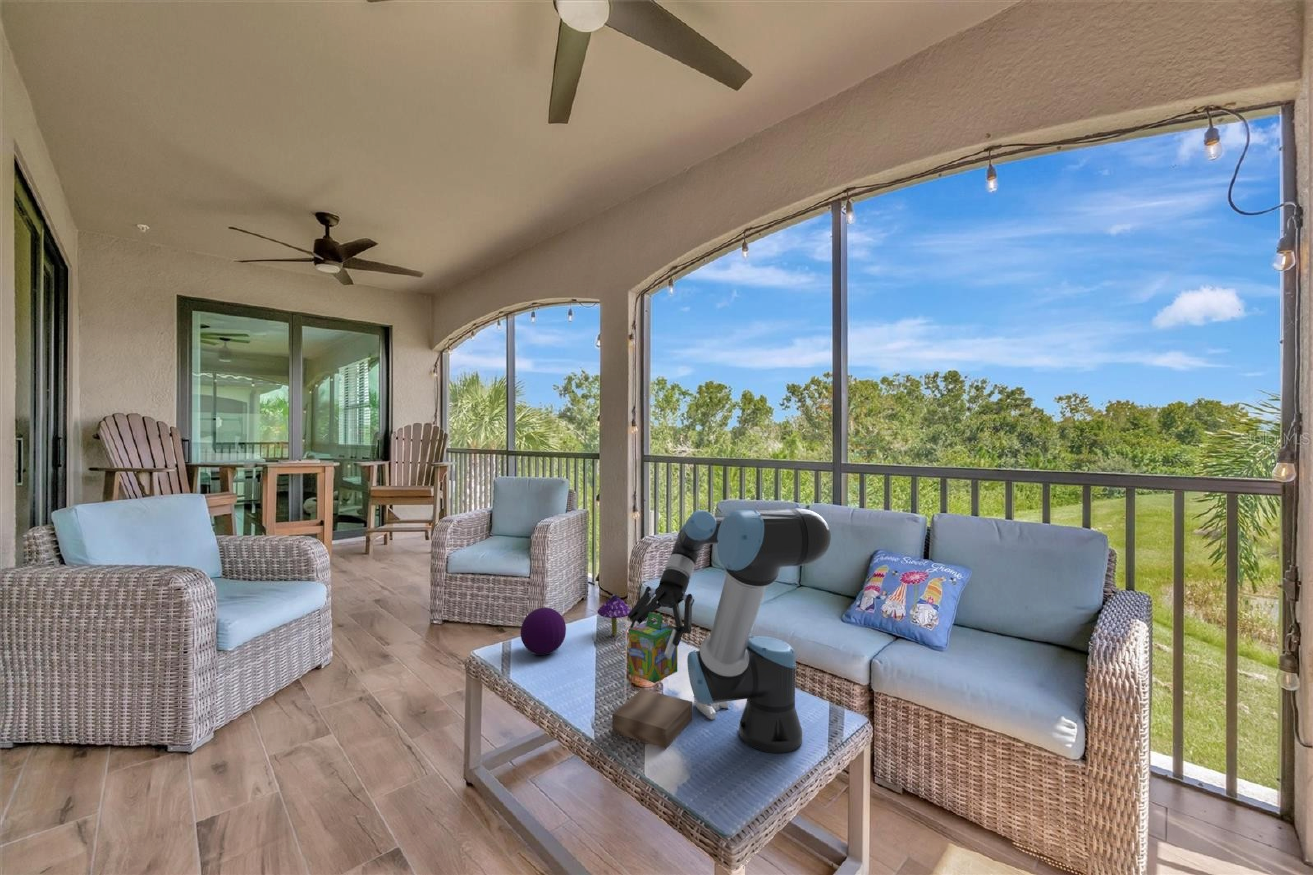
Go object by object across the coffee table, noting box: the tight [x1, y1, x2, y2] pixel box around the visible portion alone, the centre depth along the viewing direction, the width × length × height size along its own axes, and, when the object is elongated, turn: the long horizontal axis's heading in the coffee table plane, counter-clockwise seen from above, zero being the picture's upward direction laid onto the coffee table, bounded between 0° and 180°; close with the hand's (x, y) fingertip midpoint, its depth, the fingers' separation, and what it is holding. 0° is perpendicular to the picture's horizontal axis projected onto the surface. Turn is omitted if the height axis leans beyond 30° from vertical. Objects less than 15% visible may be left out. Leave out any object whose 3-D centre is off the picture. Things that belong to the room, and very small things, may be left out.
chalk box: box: [628, 612, 678, 684], centre depth 138 cm, size 9×9×15 cm
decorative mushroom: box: [597, 594, 632, 637], centre depth 199 cm, size 12×12×15 cm
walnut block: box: [611, 688, 693, 750], centre depth 138 cm, size 15×15×5 cm
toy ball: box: [520, 607, 567, 656], centre depth 182 cm, size 15×15×15 cm
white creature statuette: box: [693, 695, 730, 720], centre depth 146 cm, size 10×9×12 cm
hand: (647, 652), depth 136 cm, fingers closed on chalk box, 10 cm apart
